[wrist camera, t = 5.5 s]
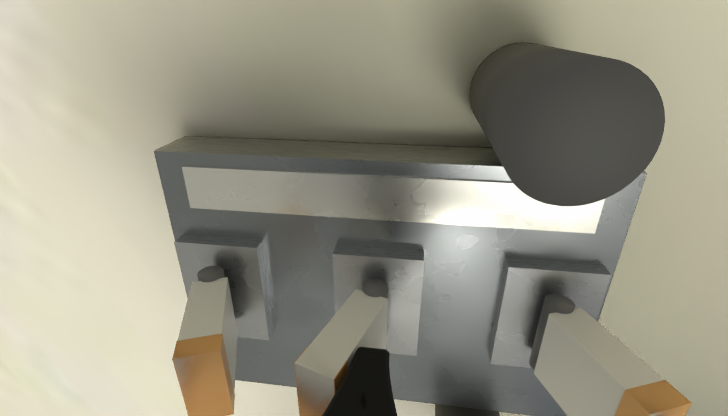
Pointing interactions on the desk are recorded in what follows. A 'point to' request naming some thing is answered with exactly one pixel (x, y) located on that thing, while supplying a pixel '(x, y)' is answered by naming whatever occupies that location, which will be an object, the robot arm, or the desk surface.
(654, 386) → the white and orange block
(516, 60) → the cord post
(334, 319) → the white and orange block
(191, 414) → the orange and white block
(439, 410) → the cylinder
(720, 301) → the desk surface
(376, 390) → the robot arm
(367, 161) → the breaker panel
